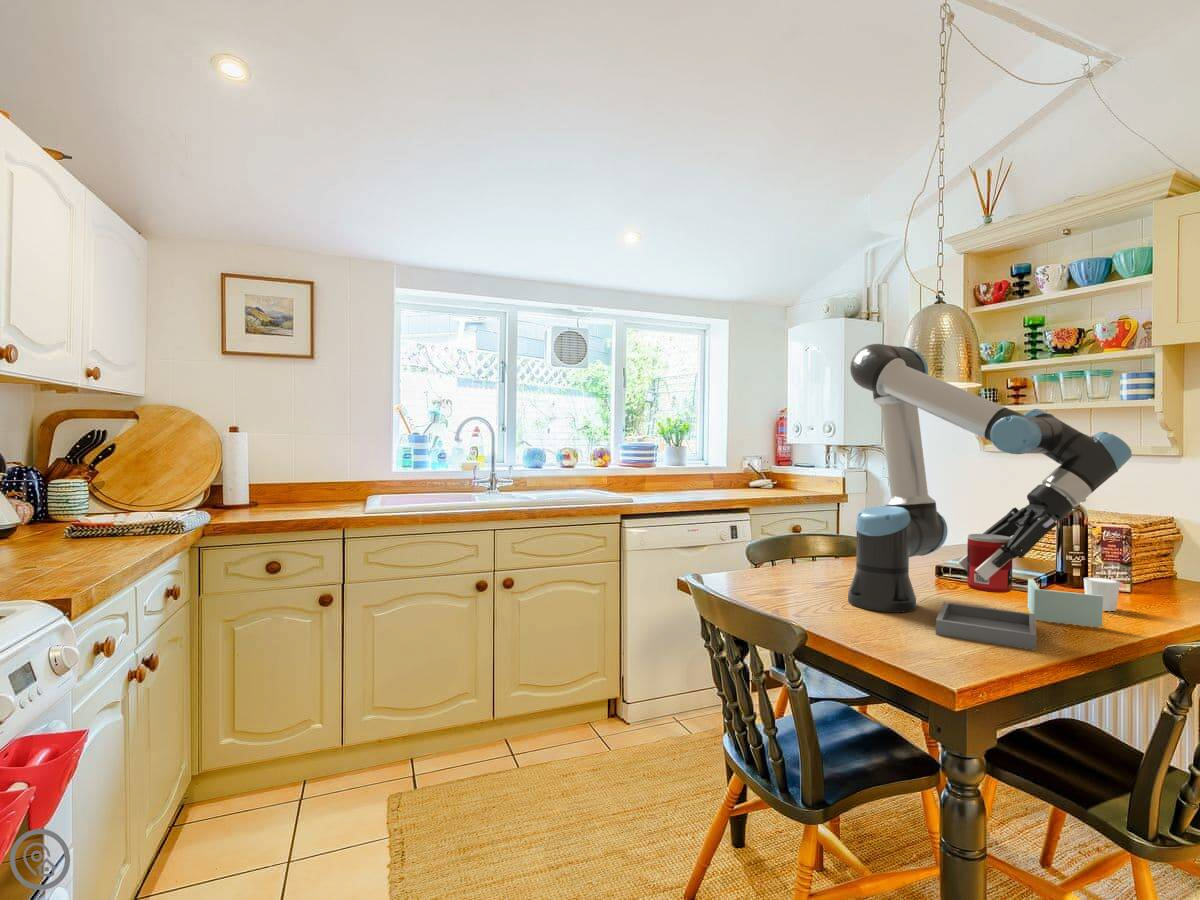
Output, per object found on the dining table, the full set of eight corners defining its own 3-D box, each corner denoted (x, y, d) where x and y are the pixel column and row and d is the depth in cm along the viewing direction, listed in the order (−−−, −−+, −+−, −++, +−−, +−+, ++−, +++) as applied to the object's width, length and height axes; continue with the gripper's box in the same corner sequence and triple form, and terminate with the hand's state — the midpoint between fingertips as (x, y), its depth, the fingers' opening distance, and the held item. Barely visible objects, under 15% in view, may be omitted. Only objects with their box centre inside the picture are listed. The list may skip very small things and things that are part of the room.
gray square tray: (935, 634, 128) (935, 620, 128) (943, 614, 142) (944, 601, 142) (1036, 650, 119) (1036, 635, 119) (1034, 628, 133) (1034, 614, 133)
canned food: (1018, 594, 126) (1019, 540, 125) (975, 592, 127) (976, 538, 127) (1002, 585, 133) (1003, 534, 133) (961, 583, 135) (962, 533, 134)
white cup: (1116, 614, 143) (1117, 584, 143) (1079, 608, 149) (1080, 579, 148) (1122, 609, 148) (1122, 580, 148) (1086, 603, 153) (1086, 575, 153)
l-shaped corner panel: (1102, 631, 133) (1102, 596, 133) (1034, 622, 139) (1034, 589, 139) (1090, 616, 144) (1090, 584, 143) (1027, 609, 149) (1028, 578, 149)
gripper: (1103, 514, 117) (1009, 596, 120) (1043, 503, 138) (964, 573, 140) (1072, 486, 118) (979, 568, 121) (1017, 479, 138) (939, 549, 141)
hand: (971, 570), depth 131 cm, fingers closed on canned food, 8 cm apart
